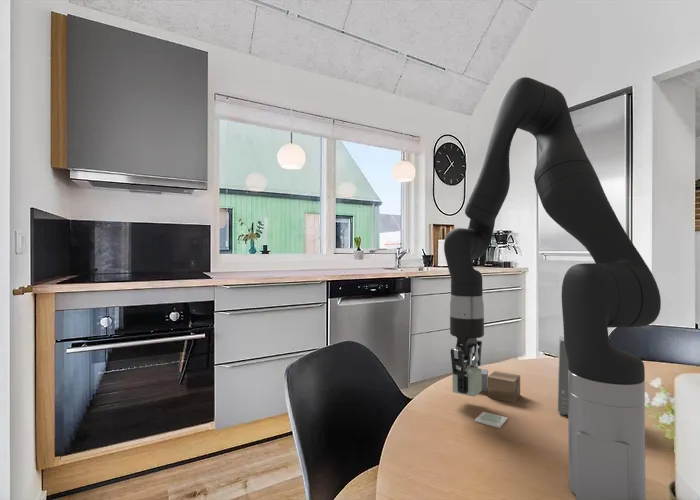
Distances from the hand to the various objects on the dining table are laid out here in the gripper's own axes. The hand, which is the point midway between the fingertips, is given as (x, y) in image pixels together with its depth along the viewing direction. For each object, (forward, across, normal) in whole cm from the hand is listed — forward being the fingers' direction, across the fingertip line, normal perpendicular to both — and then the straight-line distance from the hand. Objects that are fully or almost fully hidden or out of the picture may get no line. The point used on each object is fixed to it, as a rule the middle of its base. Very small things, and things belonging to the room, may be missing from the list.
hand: (467, 389), depth 89 cm
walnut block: (+4, +11, -5) cm, 12 cm away
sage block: (+1, 0, 0) cm, 1 cm away
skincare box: (+4, +10, -21) cm, 24 cm away
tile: (+4, -5, -7) cm, 10 cm away
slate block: (+3, +13, +2) cm, 13 cm away
